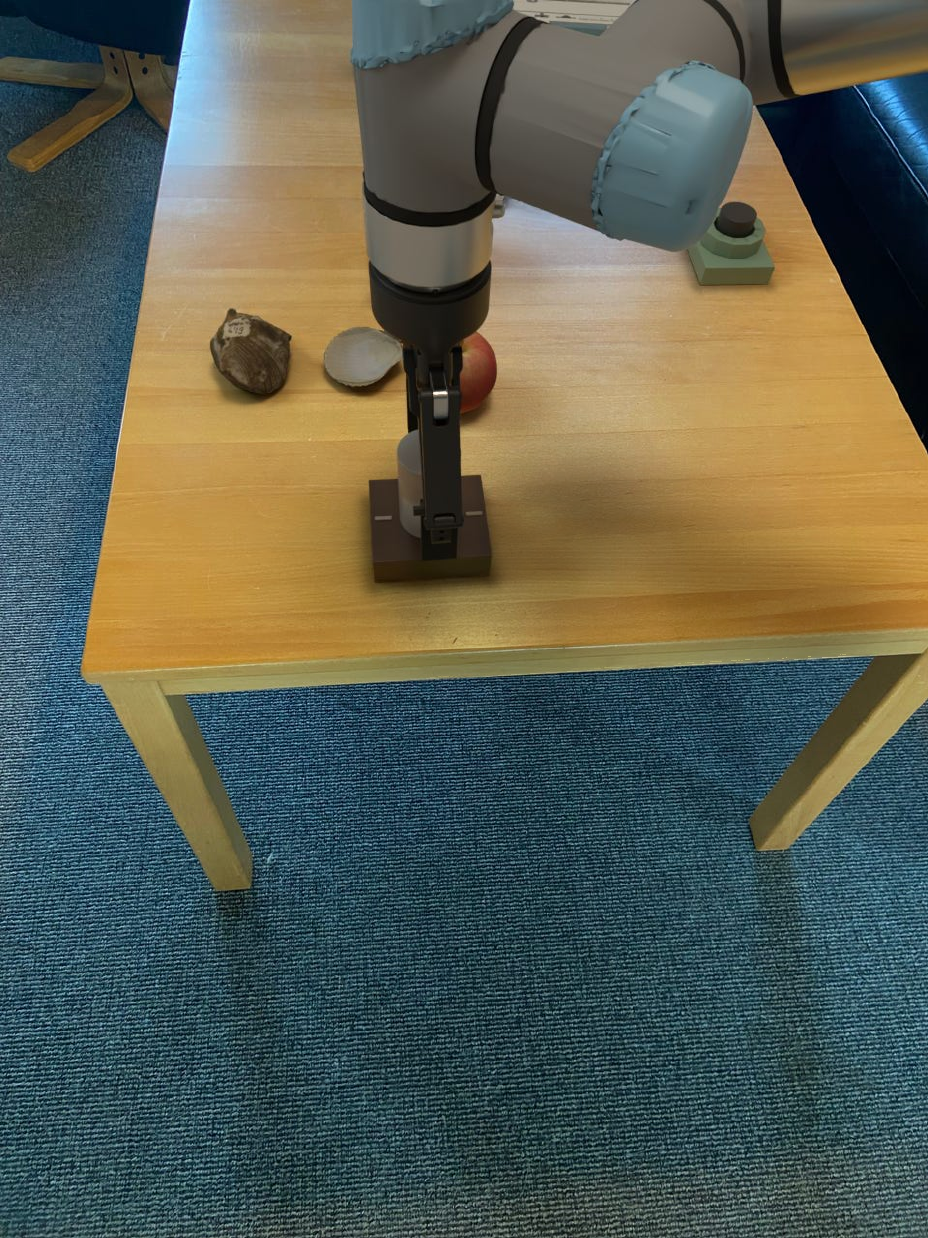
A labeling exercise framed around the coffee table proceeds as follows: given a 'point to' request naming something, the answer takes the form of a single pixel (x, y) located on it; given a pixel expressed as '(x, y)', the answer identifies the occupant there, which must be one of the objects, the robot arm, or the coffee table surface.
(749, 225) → the button
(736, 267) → the button box
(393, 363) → the seashell
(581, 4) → the white and blue toaster
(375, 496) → the control panel
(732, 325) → the coffee table surface
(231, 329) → the fossilized seashell
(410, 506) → the dial
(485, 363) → the apple
